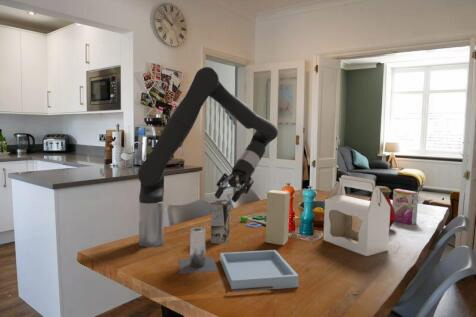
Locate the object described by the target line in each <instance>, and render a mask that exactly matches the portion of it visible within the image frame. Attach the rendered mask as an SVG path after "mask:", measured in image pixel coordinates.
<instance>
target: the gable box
mask: <svg viewBox="0 0 476 317" xmlns="http://www.w3.org/2000/svg"><path fill="white" fill-rule="evenodd" d="M338 180H339V181H335V185H334V187H333V188H332V189H331V191H330V192H329V193H328V195H327V197H326V198H325V199H324V217H323V219H324V220H323V241H325V242H327V243H331V244H332V245H336V246H339V248H340V247H341V248H343V249H346V250H349V251H352V252H354V253H356V254H359V255H362V256H365V257H368V256H372V255H376V254H380V253H383V252H388V250H389V236H390V229H389V223H390V206H389V204H388V202H387V200H386V199H385V197H384V195H383V194H382V192H381V189H379V188H377V187H376V186H377V184H376V180H375V179H372V178H367V177H359V176H353V175H346V174H342V175H341V176H340V177H338ZM345 187H347V188H353V189H358V190H361V191H362V190H363V191H368V192H370V191H372V196H371V195H370V197H371V201H369V200H368V199H363V198H360V197H354V196H350V195H346V190H345ZM352 216H354V217H357V218H359V219H360V220H361V225H360V228H359V230H358V231H355V230H353V227H352V226H353V217H352Z"/></svg>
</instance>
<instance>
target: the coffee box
mask: <svg viewBox="0 0 476 317" xmlns="http://www.w3.org/2000/svg"><path fill="white" fill-rule="evenodd" d="M231 201H232V200H220V199H219V200H218V199H217V200H215V201H214V202H213V203H211V209H210V211H211V212H210V216H211V217H210V244H220V245H221V244H224V245H225V244H227V243H228V241H229V239H230V238H231V207H232V206H231V205H232V204H231V203H232V202H231Z"/></svg>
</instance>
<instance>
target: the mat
mask: <svg viewBox="0 0 476 317" xmlns="http://www.w3.org/2000/svg"><path fill="white" fill-rule="evenodd" d="M178 266H179V274H180V275H182V274H196V273H209V272H211V273H213V272H218V271H219V269H218V267H217V264H216V262H215V258H214V257H213V256H212V257H205V266H204V267H201V268H193V267H191V266H190V258H180V259H179V258H178Z"/></svg>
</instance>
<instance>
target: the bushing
mask: <svg viewBox="0 0 476 317" xmlns="http://www.w3.org/2000/svg"><path fill="white" fill-rule="evenodd" d="M189 233H190V234H189V238H190V239H189V259H190V266H191V267H193V268H201V267H204V266H205V258H206V228H205V227H198V226H197V227H191V228H190V229H189Z"/></svg>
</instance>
